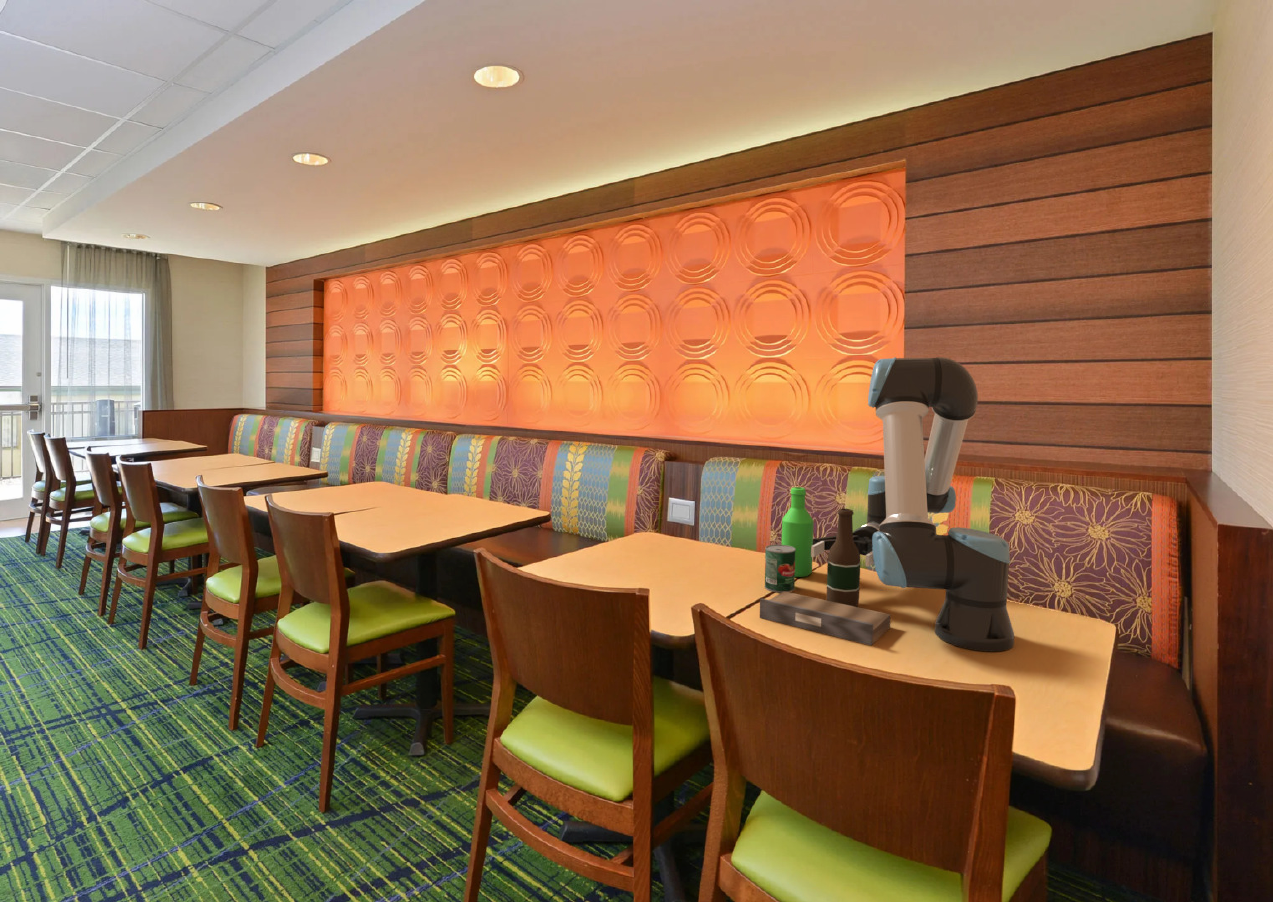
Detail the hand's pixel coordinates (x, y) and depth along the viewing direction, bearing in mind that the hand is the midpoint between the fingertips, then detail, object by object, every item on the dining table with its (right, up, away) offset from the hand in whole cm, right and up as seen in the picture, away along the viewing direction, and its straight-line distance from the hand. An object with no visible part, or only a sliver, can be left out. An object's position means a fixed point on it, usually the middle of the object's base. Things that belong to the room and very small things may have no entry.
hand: (839, 556), depth 156 cm
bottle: (-3, -10, +30) cm, 31 cm away
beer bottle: (+2, -13, +4) cm, 14 cm away
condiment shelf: (-6, -14, -8) cm, 17 cm away
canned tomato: (-11, -12, +17) cm, 23 cm away
